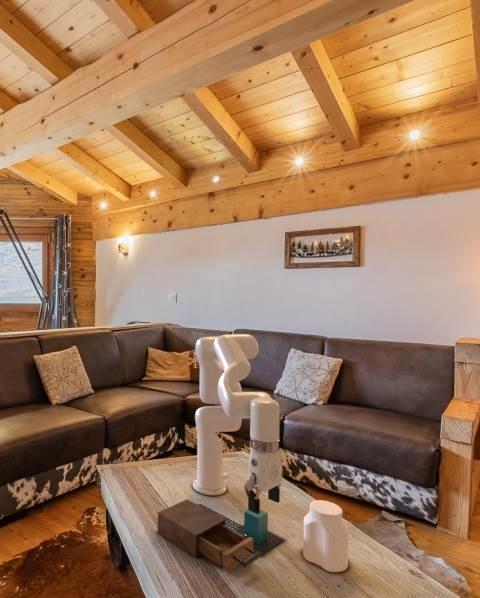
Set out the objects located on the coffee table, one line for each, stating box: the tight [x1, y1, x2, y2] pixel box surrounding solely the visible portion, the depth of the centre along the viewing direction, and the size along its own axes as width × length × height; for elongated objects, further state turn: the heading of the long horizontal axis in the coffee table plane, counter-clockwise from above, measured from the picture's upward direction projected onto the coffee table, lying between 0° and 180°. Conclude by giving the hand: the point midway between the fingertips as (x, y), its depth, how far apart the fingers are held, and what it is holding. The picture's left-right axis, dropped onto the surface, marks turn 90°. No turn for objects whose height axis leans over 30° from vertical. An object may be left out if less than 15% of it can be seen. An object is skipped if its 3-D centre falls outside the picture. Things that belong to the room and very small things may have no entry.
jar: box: [302, 499, 350, 573], centre depth 121 cm, size 12×10×15 cm
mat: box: [235, 525, 285, 557], centre depth 131 cm, size 12×12×1 cm
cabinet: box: [157, 498, 226, 559], centre depth 132 cm, size 16×14×7 cm
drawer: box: [198, 524, 262, 573], centre depth 122 cm, size 19×12×5 cm, turn 38°
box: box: [243, 508, 269, 544], centre depth 131 cm, size 5×5×8 cm
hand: (264, 506), depth 116 cm, fingers open, 9 cm apart
